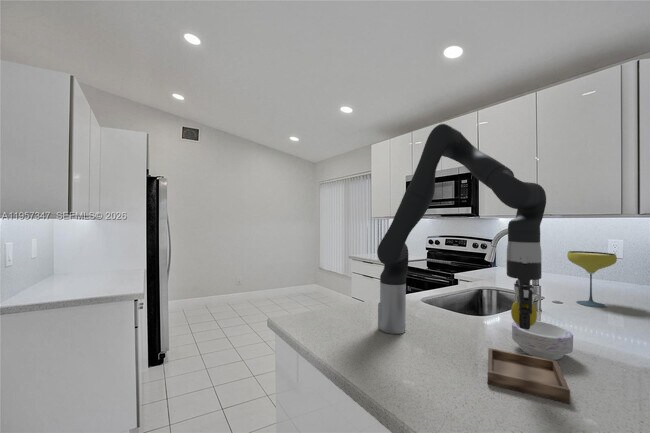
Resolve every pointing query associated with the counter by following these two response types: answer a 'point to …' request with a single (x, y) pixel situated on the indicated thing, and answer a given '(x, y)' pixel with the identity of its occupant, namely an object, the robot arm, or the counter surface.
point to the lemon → (516, 314)
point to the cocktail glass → (591, 267)
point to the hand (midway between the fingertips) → (523, 324)
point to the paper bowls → (543, 340)
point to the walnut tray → (527, 375)
